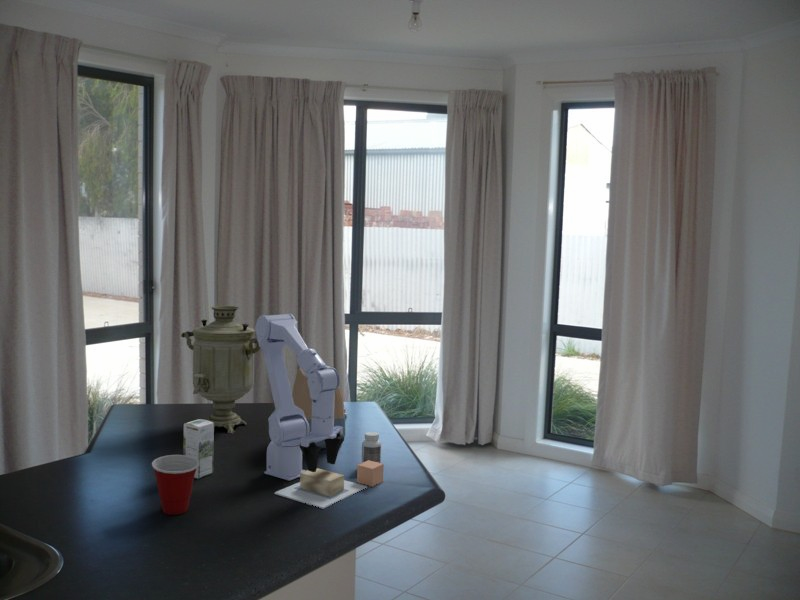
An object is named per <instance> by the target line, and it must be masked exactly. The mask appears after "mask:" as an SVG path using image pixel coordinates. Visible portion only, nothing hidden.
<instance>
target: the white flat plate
mask: <svg viewBox="0 0 800 600" xmlns="http://www.w3.org/2000/svg"><path fill="white" fill-rule="evenodd" d="M365 488H366V489H368V486H367V485H363V484H360V483H357V482H352V481H348V480H346V479H344V491H341V492H339V493H337V494H335V495H333V496H331V497H330V496H326V495H323V494H320V493H316V492H313V491H309V490H306V489H303V488H300V481H299V482H296V483H294V484H292V485H289V486H287V487H284V488H282V489H278V490H277V491H275V492H274V495H276V496H280V497H283V498H286V499H290V500H292V501H295V502H300V503H303V504H305V503H306V505H309V506H312V505H313V506H312V507H315V506H316V507H315V508H318V507H319V509H322V510H324V509H326V508H328V507H330V506H332V504H333V505H334V503H335V504H336V502H337V503H338V501H339V502H341V501H343V500H345V499H347V498H349V497H351V496H353V494H354V495H355V493H356V494H357V492H358V493H359V491H360V492H362V491H364V490H366V489H365ZM363 489H364V490H363ZM361 490H362V491H361ZM340 500H341V501H340Z"/></svg>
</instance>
